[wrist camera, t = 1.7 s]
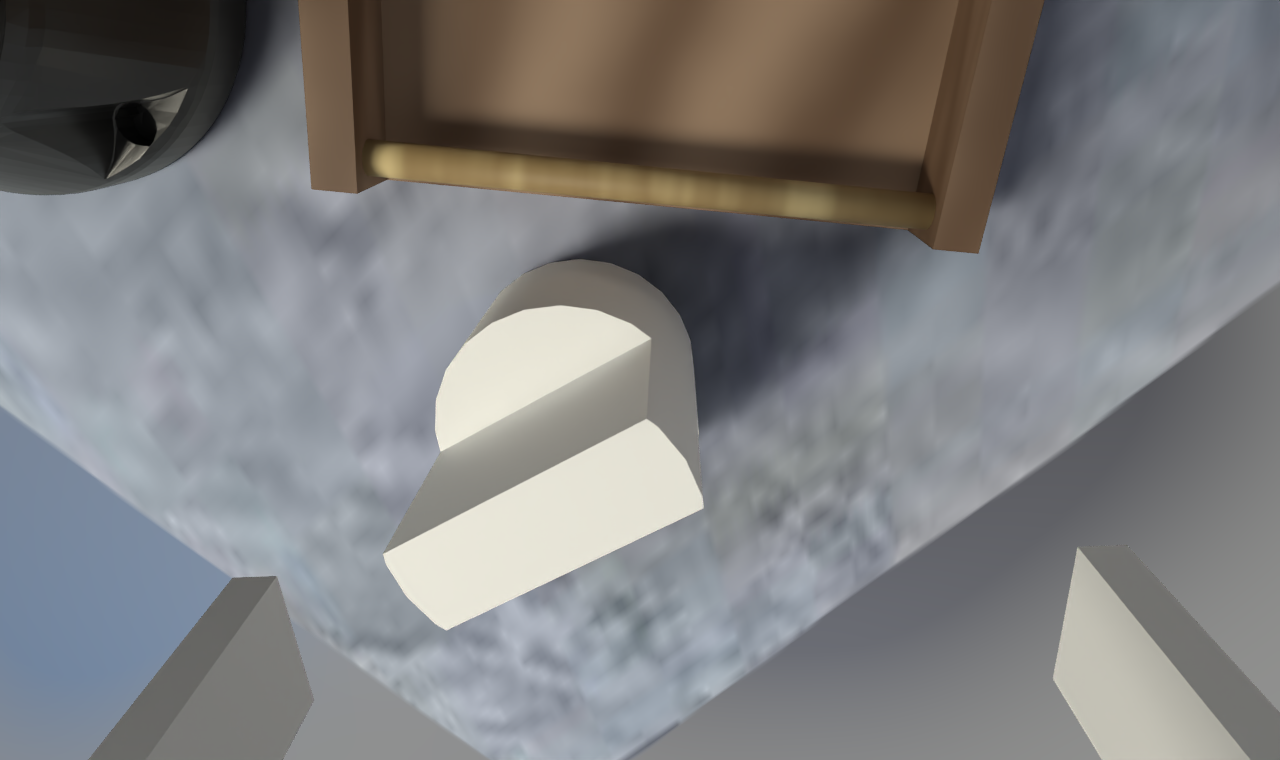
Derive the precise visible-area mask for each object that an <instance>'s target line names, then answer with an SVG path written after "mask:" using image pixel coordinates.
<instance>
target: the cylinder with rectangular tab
mask: <svg viewBox="0 0 1280 760" xmlns="http://www.w3.org/2000/svg"><path fill="white" fill-rule="evenodd" d="M435 432H436V436H437V439H438V443H439V447H440V451H441V452H440V454H439V456H438V457H437V459H436V461H435V463H434V465H433V466H432V468H431V470H430V472H429V473H428V475H427V477H426V479H425V480H424V482H423V484H422V486H421V488H420V489H419V491H418V493H417V495H416V496H415V498H414V500H413V502H412V503H411V505H410V507H409V509H408V511H407V512H406V514H405V516H404V518H403V519H402V521H401V523H400V525H399V526H398V528H397V530H396V532H395V533H394V535H393V537H392V539H391V541H390V542H389V544H388V546H387V548H386V549H385V551H384V553H383V556H384V559H385V562H386V565H387V567H388V568H389V570H390V571H391V573H392V575H393V576H394V578H395V579H396V581H397V582H398V584H399V585H400V587H401V589H402V590H403V592H404V593H405V595H406V596H407V598H408V599H410V600H411V601H412V602H413V603H414V604H415V605H416V606H417V607H418V608H419V609H420V610H421V611H422V612H423V613H424V614H425V615H427V616H428V617H429V618H430V619H431V620H432V621H433V622H434V623H435V624H436V625H438V626H440V627H441V628H443V629H445V630H448V629H450V628H452V627H454V626H456V625H459V624H461V623H463V622H465V621H467V620H469V619H471V618H473V617H475V616H477V615H480V614H482V613H484V612H486V611H488V610H490V609H492V608H494V607H496V606H499V605H501V604H503V603H505V602H507V601H509V600H511V599H513V598H515V597H517V596H520V595H522V594H524V593H526V592H528V591H530V590H532V589H534V588H536V587H539V586H541V585H543V584H545V583H547V582H549V581H551V580H553V579H555V578H558V577H560V576H562V575H564V574H566V573H568V572H570V571H572V570H574V569H576V568H579V567H581V566H583V565H585V564H587V563H589V562H591V561H593V560H595V559H598V558H600V557H602V556H604V555H606V554H608V553H610V552H612V551H614V550H616V549H619V548H621V547H623V546H625V545H627V544H629V543H631V542H633V541H635V540H638V539H640V538H642V537H644V536H646V535H648V534H650V533H652V532H654V531H656V530H659V529H661V528H663V527H665V526H667V525H669V524H671V523H673V522H675V521H678V520H680V519H682V518H684V517H686V516H688V515H690V514H692V513H694V512H696V511H699V510H701V509H703V508H704V506H703V493H702V480H701V467H700V453H699V440H698V436H699V427H698V414H697V402H696V389H695V376H694V365H693V356H692V348H691V340H690V338H689V336H688V333H687V331H686V328H685V326H684V324H683V321H682V319H681V316H680V314H679V313H678V312H677V311H676V309H675V308H674V307H673V306H672V304H671V303H670V302H669V300H668V299H667V298H666V297H665V295H664V294H663V293H662V292H661V291H660V290H658V289H657V288H656V287H654V286H653V285H652V284H650V283H649V282H648V281H646V280H645V279H644V278H642V277H641V276H640V275H638V274H636V273H634V272H631V271H629V270H626V269H624V268H621V267H619V266H616V265H614V264H612V263H607V262H599V261H592V260H584V259H576V260H568V261H560V262H552V263H549V264H546V265H544V266H541V267H539V268H536V269H534V270H532V271H529V272H527V273H524V274H523V275H521V276H520V277H519V278H518V279H516V280H515V281H514V282H512V283H511V284H510V285H509V286H507V287H506V288H505V289H504V290H502V291H501V292H500V294H499V295H498V296H497V298H496V299H495V301H494V302H493V303H492V305H491V306H490V308H489V309H488V310H487V312H486V313H485V315H484V316H483V317H482V319H481V320H480V322H479V323H478V325H477V326H476V328H475V329H474V330H473V332H472V333H471V335H470V336H469V338H468V339H467V341H466V342H465V343H464V345H463V346H462V348H461V349H460V351H459V352H458V354H457V355H456V356H455V358H454V359H453V361H452V362H451V364H450V365H449V367H448V368H447V369H446V372H445V375H444V378H443V381H442V384H441V387H440V390H439V393H438V396H437V399H436V422H435Z"/></svg>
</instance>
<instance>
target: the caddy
mask: <svg viewBox="0 0 1280 760" xmlns="http://www.w3.org/2000/svg"><path fill="white" fill-rule="evenodd" d="M1043 4H1044V0H298V6H299V20H300V34H301V48H302V62H303V76H304V90H305V104H306V118H307V132H308V146H309V160H310V174H311V188H312V189H314V190H325V191H335V192H345V193H356V194H357V193H360V192H362V191H364V190H366V189H368V188H370V187H372V186H375V185H377V184H379V183H381V182H383V181H385V180H397V181H407V182H417V183H428V184H438V185H448V186H459V187H469V188H479V189H490V190H500V191H511V192H521V193H531V194H542V195H552V196H562V197H573V198H583V199H593V200H604V201H614V202H624V203H635V204H645V205H655V206H666V207H676V208H686V209H697V210H707V211H717V212H728V213H738V214H748V215H759V216H769V217H780V218H790V219H800V220H811V221H821V222H831V223H842V224H852V225H862V226H873V227H883V228H893V229H904V230H908V231H910V232H911V233H912V234H914V235H915V236H916V237H918V238H919V239H920V240H922V241H923V242H924V243H925V244H927V245H928V246H929V247H931V248H932V249H936V250H946V251H956V252H967V253H977V254H978V253H979V249H980V245H981V241H982V238H983V234H984V230H985V226H986V222H987V218H988V215H989V211H990V207H991V203H992V199H993V195H994V192H995V188H996V184H997V180H998V176H999V172H1000V169H1001V165H1002V161H1003V157H1004V153H1005V149H1006V146H1007V142H1008V138H1009V134H1010V130H1011V126H1012V123H1013V119H1014V115H1015V111H1016V107H1017V103H1018V100H1019V96H1020V92H1021V88H1022V84H1023V80H1024V77H1025V73H1026V69H1027V65H1028V61H1029V57H1030V54H1031V50H1032V46H1033V42H1034V38H1035V34H1036V31H1037V27H1038V23H1039V19H1040V15H1041V11H1042V8H1043Z"/></svg>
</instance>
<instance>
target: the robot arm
mask: <svg viewBox="0 0 1280 760" xmlns="http://www.w3.org/2000/svg"><path fill="white" fill-rule="evenodd" d="M245 23H246V0H0V191H4V192H11V193H18V194H29V195H65V194H75V193H82V192H87V191H93V190H97V189H101V188H105V187H109V186H113V185H117V184H121V183H125V182H129V181H133V180H136V179H139V178H142V177H145V176H147V175H150V174H152V173H154V172H156V171H158V170H160V169H163V168H164V167H166V166H168V165H169V164H171V163H173V162H174V161H176V160H177V159H178V158H180V157H181V156H182V155H184V154H185V153H186V152H187V151H188V150H190V149H191V148H192V147H193V146H194V145H195V144H196V143H197V142H198V141H199V140H200V139H201V138H202V137H203V136H204V134H205V133H206V132H207V131H208V129H209V128H210V127H211V125H212V124H213V123H214V121H215V120H216V118H217V116H218V115H219V113H220V112H221V110H222V108H223V106H224V104H225V102H226V100H227V98H228V96H229V94H230V91H231V89H232V86H233V84H234V81H235V78H236V75H237V71H238V68H239V64H240V59H241V55H242V50H243V43H244V36H245ZM1053 680H1054V681H1055V683H1056V685H1057V686H1058V688H1059V689H1060V691H1061V693H1062V694H1063V696H1064V698H1065V700H1066V701H1067V703H1068V705H1069V706H1070V708H1071V709H1072V711H1073V713H1074V714H1075V716H1076V717H1077V719H1078V721H1079V723H1080V724H1081V726H1082V728H1083V729H1084V731H1085V733H1086V734H1087V736H1088V737H1089V739H1090V741H1091V743H1092V744H1093V746H1094V747H1095V749H1096V751H1097V752H1098V754H1099V756H1100V757H1101V759H1102V760H1280V712H1279V711H1278V710H1277V709H1276V708H1275V707H1274V706H1273V705H1272V704H1271V703H1270V701H1268V699H1267V698H1266V697H1265V696H1264V695H1263V694H1262V693H1261V692H1260V691H1259V689H1258V688H1257V687H1256V686H1255V685H1254V684H1253V683H1252V682H1251V681H1250V679H1249V678H1248V677H1247V676H1246V675H1245V674H1244V673H1243V672H1242V671H1241V670H1240V669H1239V668H1238V666H1237V665H1236V664H1235V663H1234V662H1233V661H1232V660H1231V659H1230V658H1229V656H1228V655H1226V653H1225V652H1224V651H1223V650H1222V649H1221V648H1220V647H1219V646H1218V644H1217V643H1216V642H1215V641H1214V640H1213V639H1212V638H1211V637H1210V636H1209V635H1208V633H1207V632H1206V631H1204V629H1203V628H1202V627H1201V626H1200V625H1199V624H1198V622H1197V621H1196V620H1195V619H1194V618H1193V617H1192V616H1191V615H1190V614H1189V613H1188V611H1187V610H1186V609H1185V608H1184V607H1183V606H1182V605H1181V604H1180V603H1179V602H1178V601H1177V600H1176V598H1175V597H1174V596H1173V595H1172V594H1171V593H1170V592H1169V591H1168V590H1167V588H1166V587H1165V586H1164V585H1163V584H1162V583H1161V582H1160V581H1159V580H1158V579H1157V577H1155V575H1154V574H1153V573H1152V572H1151V571H1150V570H1149V569H1148V568H1147V567H1146V566H1145V564H1144V563H1143V562H1142V561H1141V560H1140V559H1139V558H1138V557H1137V556H1136V555H1135V553H1134V552H1133V551H1132V550H1131V549H1130V548H1129V547H1128V546H1127V545H1116V546H1088V547H1078V548H1077V553H1076V559H1075V564H1074V569H1073V575H1072V580H1071V585H1070V591H1069V596H1068V601H1067V607H1066V612H1065V618H1064V623H1063V628H1062V633H1061V639H1060V644H1059V649H1058V655H1057V660H1056V665H1055V671H1054V676H1053ZM313 701H314V698H313V695H312V691H311V688H310V685H309V681H308V678H307V675H306V672H305V668H304V665H303V662H302V658H301V655H300V652H299V648H298V645H297V641H296V639H295V635H294V632H293V629H292V625H291V622H290V618H289V615H288V612H287V608H286V605H285V602H284V598H283V595H282V592H281V588H280V585H279V582H278V578H277V576H269V577H242V578H232V579H231V580H230V582H229V583H228V584H227V586H226V587H225V588H224V589H223V591H222V592H221V593H220V594H219V596H218V597H217V598H216V599H215V601H214V602H213V603H212V604H211V606H210V607H209V608H208V609H207V611H206V612H205V613H204V615H203V616H202V617H201V618H200V620H199V621H198V622H197V623H196V625H195V626H194V627H193V628H192V630H191V631H190V632H189V634H188V635H187V636H186V637H185V638H184V640H183V641H182V642H181V643H180V645H179V646H178V647H177V649H176V650H175V651H174V652H173V654H172V655H171V656H170V657H169V659H168V660H167V661H166V662H165V664H164V665H163V666H162V668H161V669H160V670H159V671H158V672H157V674H156V675H155V676H154V678H153V679H152V680H151V681H150V683H149V684H148V685H147V687H146V688H145V689H144V690H143V691H142V693H141V694H140V695H139V696H138V698H137V699H136V700H135V701H134V703H133V704H132V705H131V707H130V708H129V709H128V710H127V712H126V713H125V714H124V715H123V717H122V718H121V719H120V721H119V722H118V723H117V724H116V726H115V727H114V728H113V729H112V730H111V732H110V733H109V734H108V736H107V737H106V738H105V739H104V741H103V742H102V743H101V745H100V746H99V747H98V748H97V749H96V751H95V752H94V753H93V754H92V756H91V757H90V758H89V760H283V759H284V757H285V755H286V753H287V751H288V749H289V747H290V745H291V743H292V741H293V740H294V738H295V736H296V734H297V732H298V730H299V728H300V726H301V724H302V722H303V720H304V719H305V717H306V715H307V713H308V711H309V709H310V707H311V705H312V703H313Z"/></svg>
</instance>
